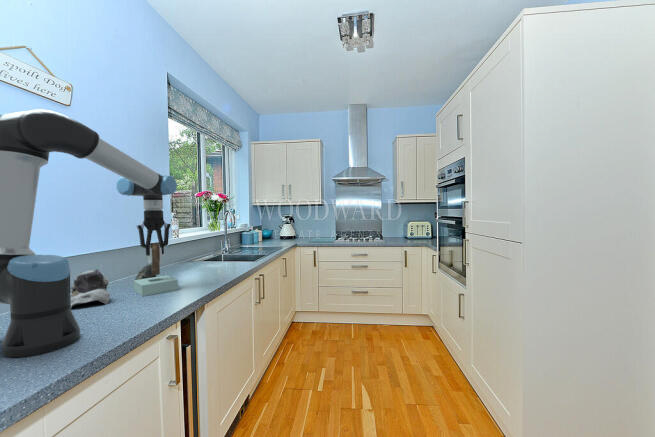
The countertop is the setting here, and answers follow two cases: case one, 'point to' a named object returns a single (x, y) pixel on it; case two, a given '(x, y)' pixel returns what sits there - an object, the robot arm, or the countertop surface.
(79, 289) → the stone
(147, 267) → the rock
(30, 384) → the countertop surface
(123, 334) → the countertop surface
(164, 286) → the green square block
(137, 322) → the countertop surface
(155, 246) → the dowel
